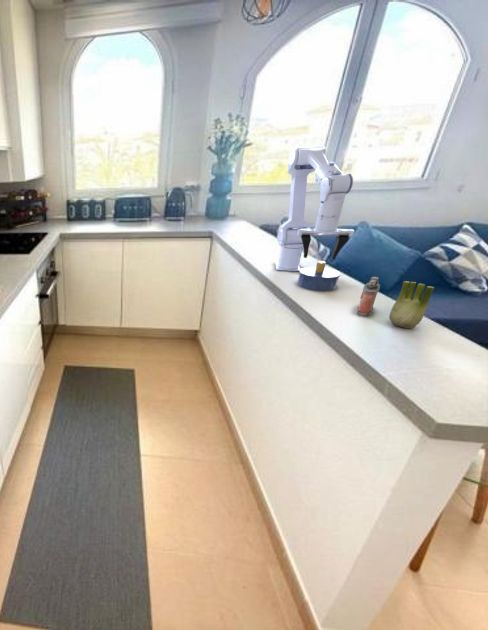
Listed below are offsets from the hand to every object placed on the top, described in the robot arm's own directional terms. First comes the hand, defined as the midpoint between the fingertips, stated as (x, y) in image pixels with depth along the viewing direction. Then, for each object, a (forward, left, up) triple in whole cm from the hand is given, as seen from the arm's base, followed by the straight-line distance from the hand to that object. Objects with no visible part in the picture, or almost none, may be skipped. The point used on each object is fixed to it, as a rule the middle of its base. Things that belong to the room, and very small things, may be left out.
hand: (318, 257), depth 114 cm
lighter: (+18, +10, -10) cm, 24 cm away
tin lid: (-2, +1, -6) cm, 6 cm away
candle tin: (-2, +1, -10) cm, 11 cm away
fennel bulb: (+26, +16, -10) cm, 33 cm away
